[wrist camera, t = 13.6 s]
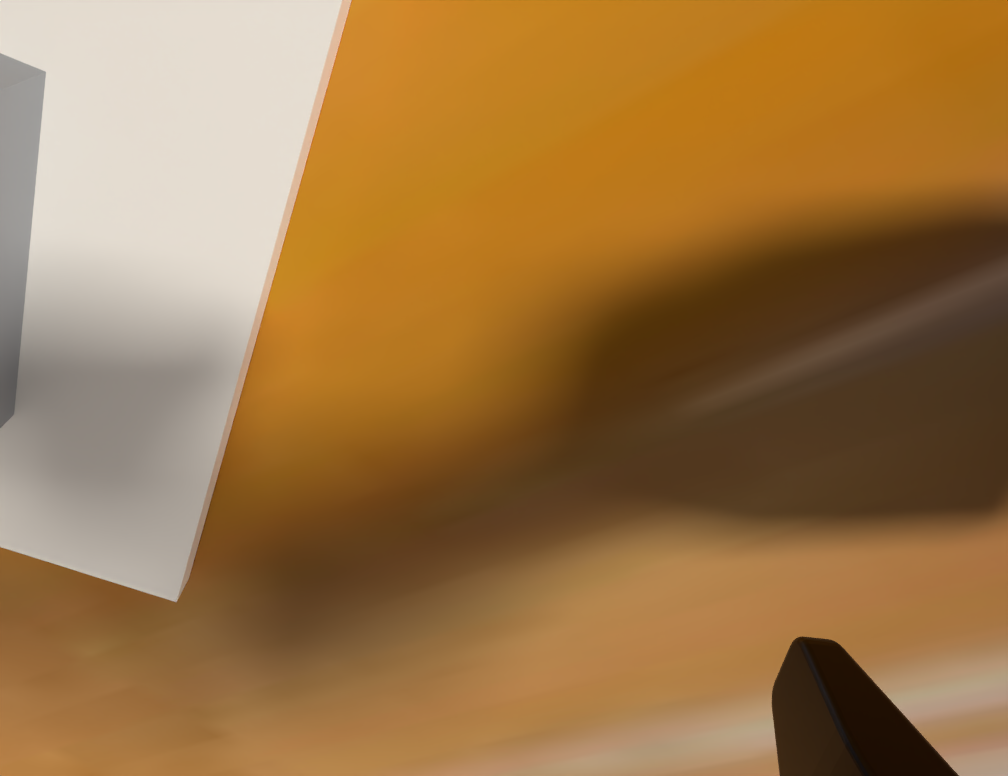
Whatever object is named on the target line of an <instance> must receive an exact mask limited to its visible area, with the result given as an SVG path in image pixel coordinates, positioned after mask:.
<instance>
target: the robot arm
mask: <svg viewBox="0 0 1008 776" xmlns="http://www.w3.org/2000/svg"><path fill="white" fill-rule="evenodd" d="M772 711H773V720H774V729H775V738H776V746H777V755H778V764H779V773H780V776H959V775H958V774H957V773H956V772H955V771H954V770H953V769H952V768H951V767H950V765H949V764H948V763H947V762H946V761H945V760H944V759H943V758H942V757H941V756H940V754H939V753H938V752H937V751H936V750H935V749H934V748H933V747H932V746H931V744H930V743H929V742H928V741H927V740H926V739H925V738H924V737H923V736H922V735H921V733H920V732H919V731H918V730H917V729H916V728H915V727H914V726H913V725H912V723H911V722H910V721H909V720H908V719H907V718H906V717H905V716H904V715H903V714H902V712H901V711H900V710H899V709H898V708H897V707H896V706H895V705H894V704H893V703H892V701H891V700H890V699H889V698H888V697H887V696H886V695H885V694H884V693H883V691H882V690H881V689H880V688H879V687H878V686H877V685H876V684H875V683H874V682H873V680H872V679H871V678H870V677H869V676H868V675H867V674H866V673H865V672H864V670H863V669H862V668H861V667H860V666H859V665H858V664H857V663H856V662H855V661H854V659H853V658H852V657H851V656H850V655H849V654H848V653H847V652H846V651H845V649H844V648H843V647H842V646H841V645H839V644H838V643H837V642H835V641H833V640H829V639H821V638H812V637H798V638H796V639H795V640H794V641H793V642H792V644H791V645H790V648H789V650H788V652H787V655H786V657H785V659H784V662H783V664H782V666H781V669H780V671H779V673H778V676H777V678H776V680H775V683H774V686H773V691H772Z"/></svg>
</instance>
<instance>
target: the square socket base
mask: <svg viewBox="0 0 1008 776" xmlns="http://www.w3.org/2000/svg"><path fill="white" fill-rule="evenodd" d="M350 4H351V0H0V547H2V548H5V549H8V550H12V551H15V552H18V553H21V554H24V555H27V556H31V557H34V558H37V559H40V560H43V561H47V562H50V563H53V564H56V565H59V566H63V567H66V568H69V569H72V570H75V571H78V572H82V573H85V574H88V575H91V576H94V577H98V578H101V579H104V580H107V581H110V582H114V583H117V584H120V585H123V586H126V587H129V588H133V589H136V590H139V591H142V592H145V593H149V594H152V595H155V596H158V597H161V598H164V599H168V600H171V601H174V602H177V600H178V598H179V597H180V595H181V593H182V591H183V589H184V587H185V585H186V583H187V581H188V579H189V577H190V573H191V569H192V566H193V562H194V559H195V555H196V552H197V548H198V545H199V541H200V537H201V534H202V530H203V527H204V523H205V520H206V516H207V513H208V509H209V505H210V502H211V498H212V495H213V491H214V488H215V484H216V481H217V477H218V473H219V470H220V466H221V463H222V459H223V456H224V452H225V449H226V445H227V441H228V438H229V434H230V431H231V427H232V424H233V420H234V417H235V413H236V409H237V406H238V402H239V399H240V395H241V392H242V388H243V385H244V381H245V377H246V374H247V370H248V367H249V363H250V360H251V356H252V353H253V349H254V345H255V342H256V338H257V335H258V331H259V328H260V324H261V321H262V317H263V313H264V310H265V306H266V303H267V299H268V296H269V292H270V289H271V285H272V281H273V278H274V274H275V271H276V267H277V264H278V260H279V257H280V253H281V249H282V246H283V242H284V239H285V235H286V232H287V228H288V225H289V221H290V217H291V214H292V210H293V207H294V203H295V200H296V196H297V193H298V189H299V185H300V182H301V178H302V175H303V171H304V168H305V164H306V161H307V157H308V153H309V150H310V146H311V143H312V139H313V136H314V132H315V128H316V125H317V121H318V118H319V114H320V111H321V107H322V104H323V100H324V96H325V93H326V89H327V86H328V82H329V79H330V75H331V72H332V68H333V64H334V61H335V57H336V54H337V50H338V47H339V43H340V40H341V36H342V32H343V29H344V25H345V22H346V18H347V15H348V11H349V8H350Z"/></svg>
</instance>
